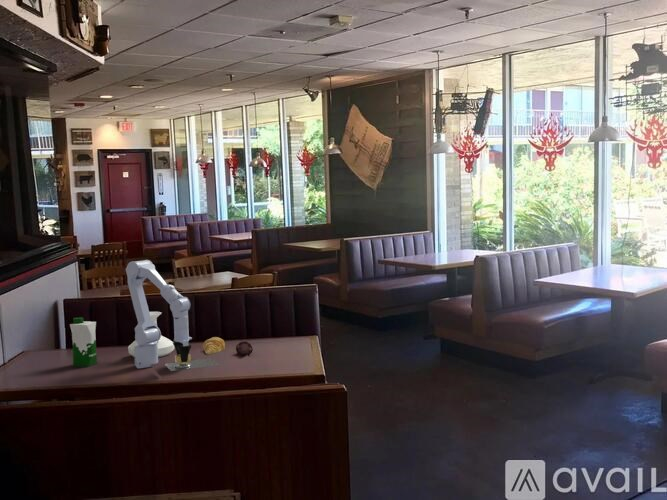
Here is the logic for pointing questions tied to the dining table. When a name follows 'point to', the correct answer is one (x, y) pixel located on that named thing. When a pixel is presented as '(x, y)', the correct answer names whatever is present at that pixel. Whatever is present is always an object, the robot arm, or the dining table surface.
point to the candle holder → (163, 344)
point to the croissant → (213, 345)
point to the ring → (178, 359)
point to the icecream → (244, 348)
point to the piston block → (192, 364)
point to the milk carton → (83, 342)
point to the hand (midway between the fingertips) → (182, 360)
